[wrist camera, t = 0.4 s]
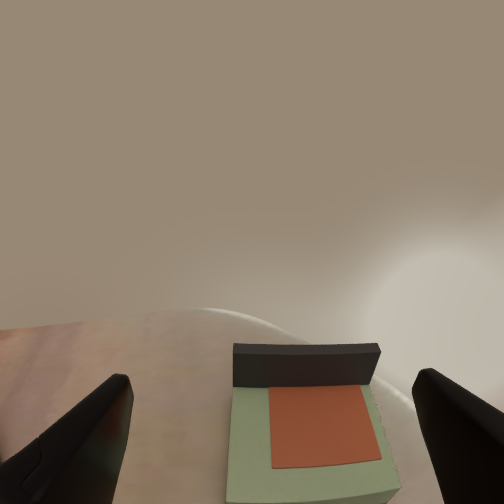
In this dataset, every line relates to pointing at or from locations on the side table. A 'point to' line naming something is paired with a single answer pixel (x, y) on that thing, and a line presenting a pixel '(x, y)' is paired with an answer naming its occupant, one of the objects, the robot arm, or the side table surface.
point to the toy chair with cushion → (307, 427)
